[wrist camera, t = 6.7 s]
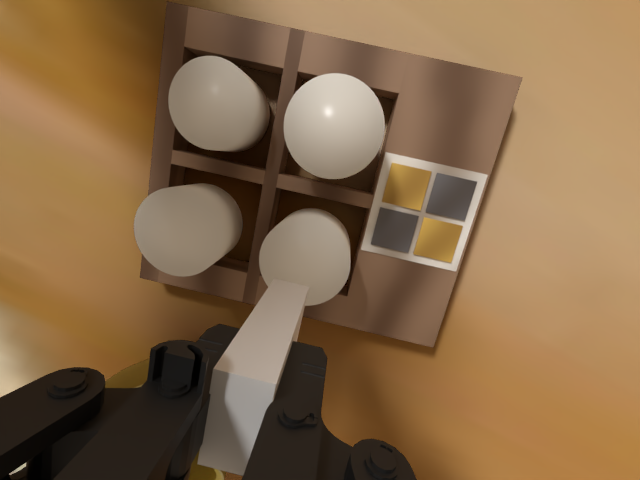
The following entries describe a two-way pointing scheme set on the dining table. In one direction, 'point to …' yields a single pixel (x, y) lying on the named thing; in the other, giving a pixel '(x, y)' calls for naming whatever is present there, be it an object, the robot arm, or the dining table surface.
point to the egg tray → (382, 202)
